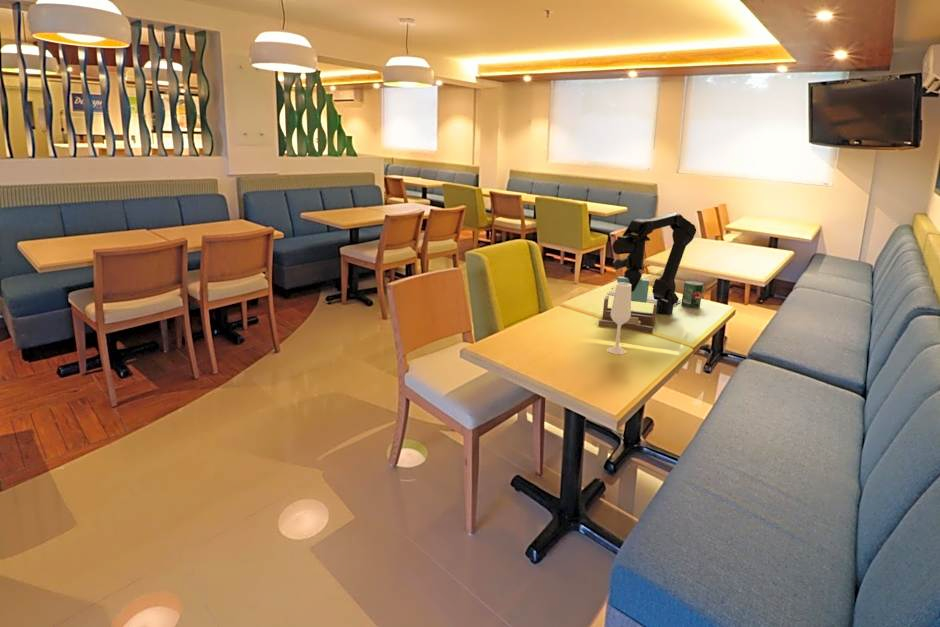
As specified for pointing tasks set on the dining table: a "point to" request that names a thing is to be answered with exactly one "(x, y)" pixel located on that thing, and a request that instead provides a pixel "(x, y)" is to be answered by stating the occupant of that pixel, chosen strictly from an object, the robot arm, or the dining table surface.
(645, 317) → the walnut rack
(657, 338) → the dining table surface
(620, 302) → the champagne flute
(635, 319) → the upper offcut
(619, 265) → the robot arm
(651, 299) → the baseboard molding
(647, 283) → the teal sheet
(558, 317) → the dining table surface
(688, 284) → the canned tomato
